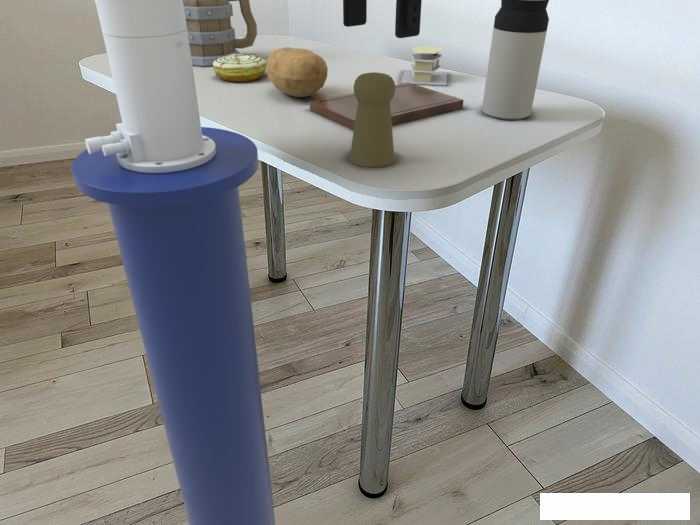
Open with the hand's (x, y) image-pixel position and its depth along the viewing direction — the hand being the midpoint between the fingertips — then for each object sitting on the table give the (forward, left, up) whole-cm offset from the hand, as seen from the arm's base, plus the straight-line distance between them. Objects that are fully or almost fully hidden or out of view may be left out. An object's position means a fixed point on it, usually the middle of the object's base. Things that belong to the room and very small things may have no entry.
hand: (379, 30), depth 64 cm
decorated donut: (+6, +50, -16) cm, 53 cm away
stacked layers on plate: (+36, +28, -16) cm, 48 cm away
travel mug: (+31, +3, -16) cm, 35 cm away
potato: (+8, +32, -16) cm, 37 cm away
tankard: (+11, +67, -16) cm, 70 cm away
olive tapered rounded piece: (0, 0, -16) cm, 16 cm away
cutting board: (+16, +16, -16) cm, 28 cm away
